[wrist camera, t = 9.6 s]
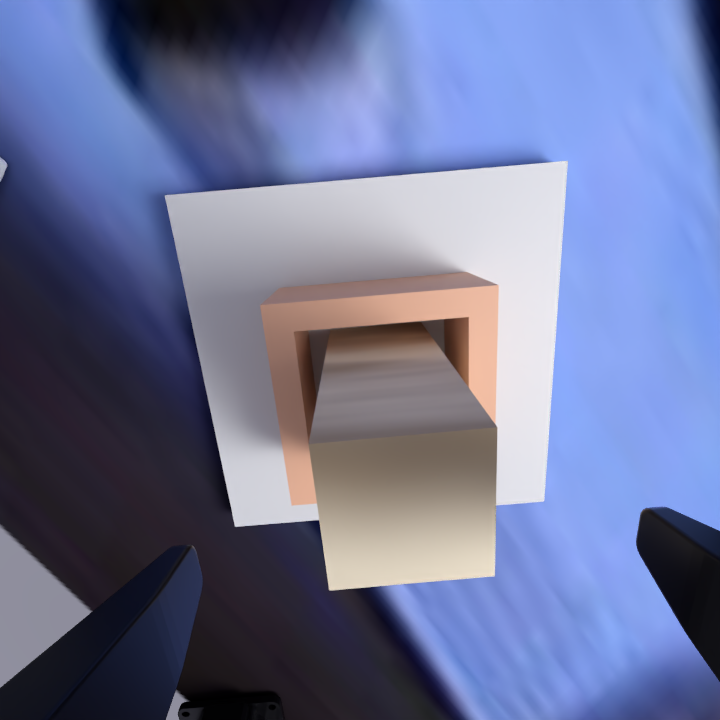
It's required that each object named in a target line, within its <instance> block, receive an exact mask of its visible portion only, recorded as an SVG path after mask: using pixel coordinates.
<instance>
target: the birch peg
mask: <svg viewBox="0 0 720 720" xmlns="http://www.w3.org/2000/svg"><path fill="white" fill-rule="evenodd" d="M497 429H498V427H497V426H496V425H495V423H494V422H493V420H492V419H491V418H490V416H489V415H488V414H487V412H486V411H485V409H484V408H483V407H482V405H481V404H480V403H479V401H478V400H477V398H476V397H475V396H474V394H473V393H472V392H471V390H470V389H469V387H468V386H467V385H466V383H465V382H464V381H463V379H462V378H461V376H460V375H459V374H458V372H457V371H456V370H455V368H454V367H453V365H452V364H451V363H450V361H449V360H448V359H447V357H446V356H445V354H444V353H443V352H442V350H441V349H440V348H439V346H438V345H437V343H436V342H435V341H434V339H433V338H432V337H431V335H430V334H429V332H428V331H427V330H426V328H425V327H424V326H423V324H422V323H421V322H411V323H400V324H389V325H378V326H367V327H356V328H345V329H334V330H330V334H329V339H328V344H327V350H326V355H325V360H324V365H323V371H322V376H321V381H320V386H319V392H318V397H317V402H316V407H315V413H314V418H313V423H312V428H311V434H310V439H309V451H310V458H311V465H312V472H313V479H314V486H315V493H316V500H317V507H318V514H319V521H320V528H321V535H322V542H323V549H324V556H325V563H326V570H327V577H328V584H329V590H341V589H352V588H364V587H375V586H387V585H398V584H410V583H421V582H433V581H444V580H456V579H467V578H479V577H490V576H495V538H496V484H497Z"/></svg>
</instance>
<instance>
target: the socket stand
mask: <svg viewBox="0 0 720 720" xmlns="http://www.w3.org/2000/svg"><path fill="white" fill-rule="evenodd" d="M567 165H568V161H561V162H549V163H537V164H526V165H514V166H502V167H491V168H479V169H467V170H455V171H444V172H432V173H420V174H409V175H397V176H385V177H373V178H362V179H350V180H338V181H327V182H315V183H303V184H291V185H280V186H268V187H256V188H244V189H233V190H221V191H209V192H198V193H186V194H174V195H165V199H166V204H167V209H168V213H169V218H170V223H171V227H172V232H173V237H174V241H175V246H176V251H177V256H178V260H179V265H180V270H181V274H182V279H183V284H184V288H185V293H186V298H187V303H188V307H189V312H190V317H191V321H192V326H193V331H194V336H195V340H196V345H197V350H198V354H199V359H200V364H201V368H202V373H203V378H204V383H205V387H206V392H207V397H208V401H209V406H210V411H211V415H212V420H213V425H214V430H215V434H216V439H217V444H218V448H219V453H220V458H221V462H222V467H223V472H224V477H225V481H226V486H227V491H228V495H229V500H230V505H231V510H232V514H233V519H234V524H235V527H238V526H251V525H263V524H275V523H287V522H299V521H311V520H319V514H318V507H317V500H316V493H315V486H314V479H313V472H312V465H311V458H310V451H309V439H310V434H311V428H312V423H313V418H314V413H315V407H316V402H317V397H318V392H319V386H320V381H321V376H322V371H323V365H324V360H325V355H326V350H327V344H328V339H329V334H330V330H334V329H345V328H356V327H367V326H378V325H389V324H400V323H411V322H421V323H422V324H423V326H424V327H425V328H426V330H427V331H428V332H429V334H430V335H431V337H432V338H433V339H434V341H435V342H436V343H437V345H438V346H439V348H440V349H441V350H442V352H443V353H444V354H445V356H446V357H447V359H448V360H449V361H450V363H451V364H452V365H453V367H454V368H455V370H456V371H457V372H458V374H459V375H460V376H461V378H462V379H463V381H464V382H465V383H466V385H467V386H468V387H469V389H470V390H471V392H472V393H473V394H474V396H475V397H476V398H477V400H478V401H479V403H480V404H481V405H482V407H483V408H484V409H485V411H486V412H487V414H488V415H489V416H490V418H491V419H492V420H493V422H494V423H495V425H496V426H497V427H498V429H497V484H496V505H506V504H518V503H530V502H542V501H544V495H545V481H546V466H547V452H548V438H549V423H550V409H551V395H552V380H553V366H554V351H555V337H556V323H557V308H558V294H559V280H560V265H561V251H562V236H563V222H564V208H565V193H566V179H567Z"/></svg>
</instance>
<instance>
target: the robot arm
mask: <svg viewBox="0 0 720 720" xmlns="http://www.w3.org/2000/svg"><path fill="white" fill-rule="evenodd" d="M636 545H637V549H638V552H639V554H640V556H641V558H642V560H643V561H644V563H645V565H646V566H647V568H648V570H649V572H650V573H651V575H652V577H653V578H654V580H655V582H656V584H657V585H658V587H659V589H660V590H661V592H662V594H663V596H664V597H665V599H666V601H667V602H668V604H669V606H670V608H671V609H672V611H673V613H674V614H675V616H676V618H677V619H678V621H679V623H680V624H681V626H682V628H683V629H684V631H685V632H686V634H687V635H688V637H689V638H690V640H691V641H692V643H693V644H694V646H695V647H696V649H697V650H698V651H699V653H700V654H701V656H702V657H703V659H704V660H705V661H706V663H707V664H708V666H709V667H710V669H711V670H712V671H713V673H714V674H715V676H716V677H717V678H718V680H719V681H720V531H718V530H716V529H714V528H712V527H710V526H707V525H705V524H703V523H701V522H698V521H696V520H694V519H692V518H690V517H687V516H685V515H683V514H681V513H679V512H676V511H674V510H672V509H670V508H667V507H652V508H645V509H643V510H642V512H641V514H640V520H639V526H638V532H637V538H636ZM202 583H203V579H202V573H201V569H200V565H199V561H198V558H197V554H196V550H195V548H194V547H193V546H192V545H179V546H173V547H171V548H169V549H168V550H167V551H165V552H164V553H163V554H162V555H160V556H159V557H158V558H157V559H156V560H154V561H153V562H152V563H151V564H150V565H148V566H147V567H146V568H145V569H144V570H142V571H141V572H140V573H139V574H137V575H136V576H135V577H134V578H133V579H131V580H130V581H129V582H128V583H127V584H125V585H124V586H123V587H122V588H121V589H119V590H118V591H117V592H116V593H114V594H113V595H112V596H111V597H110V598H108V599H107V600H106V601H105V602H104V603H102V604H101V605H100V606H99V607H98V608H96V609H95V610H94V611H93V612H91V613H90V614H89V615H88V616H87V617H86V618H84V619H83V620H82V621H81V622H79V623H78V624H77V625H76V626H75V627H73V628H72V629H71V630H70V631H68V632H67V633H66V634H65V635H64V636H62V637H61V638H60V639H59V640H58V641H56V642H55V643H54V644H53V645H52V646H50V647H49V648H48V649H47V650H46V651H44V652H43V653H42V654H41V655H39V656H38V657H37V658H36V659H35V660H33V661H32V662H31V663H30V664H29V665H27V666H26V667H25V668H24V669H22V670H21V671H20V672H19V673H18V674H16V675H15V676H14V677H13V678H12V679H10V681H8V682H7V683H6V684H4V685H3V686H2V687H1V688H0V720H166V717H167V714H168V711H169V708H170V705H171V702H172V699H173V696H174V693H175V691H176V688H177V685H178V682H179V678H180V675H181V672H182V668H183V664H184V661H185V657H186V653H187V649H188V644H189V640H190V636H191V632H192V628H193V624H194V619H195V615H196V611H197V607H198V603H199V599H200V595H201V590H202ZM178 717H179V720H285V717H284V712H283V707H282V702H281V699H280V697H278V696H276V695H266V696H254V697H241V698H229V699H217V700H204V701H192V702H184V703H182V704H181V706H180V708H179V712H178Z"/></svg>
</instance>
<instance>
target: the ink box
mask: <svg viewBox="0 0 720 720" xmlns="http://www.w3.org/2000/svg"><path fill="white" fill-rule="evenodd" d="M6 168H7V163H6V162H5V161H4V160H3V159H2V158H0V181H1V179H2V177H3V175H4V172H5V170H6Z"/></svg>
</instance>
